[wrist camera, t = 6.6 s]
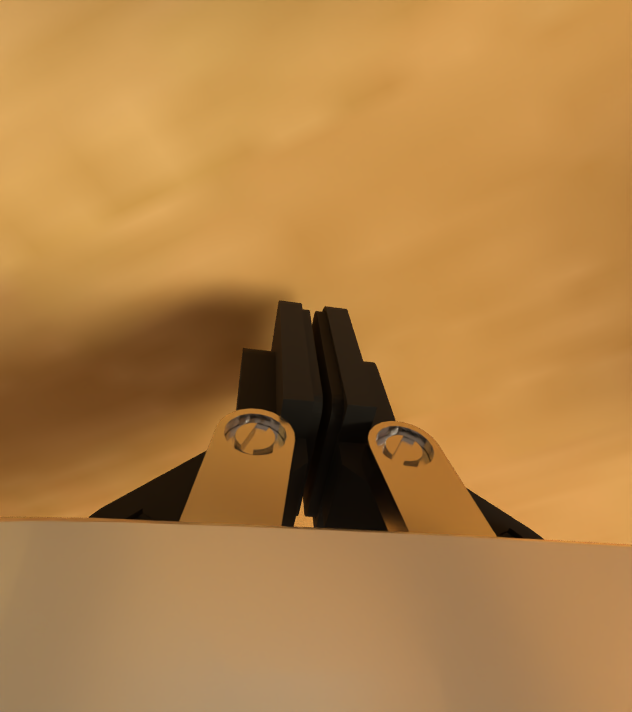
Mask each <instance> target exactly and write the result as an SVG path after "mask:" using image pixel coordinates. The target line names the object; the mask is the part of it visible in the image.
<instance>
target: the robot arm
mask: <svg viewBox="0 0 632 712" xmlns="http://www.w3.org/2000/svg"><path fill="white" fill-rule="evenodd" d="M302 498H303V503H304V514H305V516H308V517H313V524H314V528H311V527H294V522H295V518H296V516H298V514H299V511H300V506H301V502H302ZM0 712H632V545H628V544H609V543H592V542H575V541H558V540H544V539H543V538H542V537H540V536H539V535H538V534H536V533H535V532H534V531H532V530H531V529H529V528H528V527H526V526H525V525H523V524H522V523H520V522H518V521H517V520H515V519H514V518H512V517H511V516H509V515H508V514H506V513H504V512H503V511H501V510H500V509H498V508H497V507H495V506H494V505H492V504H490V503H489V502H487V501H486V500H484V499H483V498H481V497H480V496H478V495H476V494H475V493H473V492H472V491H470V490H469V489H467V488H466V487H465V486H464V484H463V482H462V481H461V479H460V478H459V476H458V475H457V473H456V471H455V470H454V468H453V467H452V465H451V464H450V462H449V460H448V459H447V457H446V456H445V454H444V452H443V451H442V449H441V448H440V446H439V445H438V443H437V442H436V441H435V440H434V439H433V437H432V436H430V435H429V434H428V433H426V432H425V431H424V430H422V429H420V428H418V427H416V426H414V425H411V424H408V423H404V422H398V421H395V418H394V415H393V412H392V409H391V406H390V403H389V400H388V398H387V395H386V392H385V389H384V386H383V383H382V380H381V377H380V375H379V372H378V369H377V366H376V364H375V363H373V362H364V361H363V359H362V356H361V353H360V350H359V346H358V343H357V340H356V337H355V333H354V330H353V327H352V324H351V320H350V317H349V314H348V311H347V309H342V308H334V307H326V306H325V307H324V309H323V311H322V312H319V311H316V312H315V314H314V318H313V323H311V317H310V311H309V310H303V309H302V304H301V303H294V302H286V301H279V303H278V309H277V315H276V322H275V329H274V336H273V342H272V349H271V351H263V350H254V349H245V348H243V353H242V362H241V371H240V379H239V389H238V398H237V407H236V411H234V412H232V413H229V414H228V415H226V416H225V417H223V418H222V419H221V420H220V422H219V423H218V425H217V426H216V429H215V431H214V434H213V436H212V439H211V441H210V444H209V446H208V449H207V451H205V452H203V453H201V454H199V455H198V456H196V457H194V458H192V459H190V460H188V461H187V462H185V463H183V464H181V465H179V466H177V467H176V468H174V469H172V470H170V471H168V472H167V473H165V474H163V475H161V476H159V477H157V478H156V479H154V480H152V481H150V482H148V483H146V484H145V485H143V486H141V487H139V488H137V489H135V490H134V491H132V492H130V493H128V494H126V495H124V496H123V497H121V498H119V499H117V500H115V501H113V502H112V503H110V504H108V505H106V506H104V507H102V508H101V509H99V510H98V511H97V512H95V513H94V514H92V515H91V516H90V517H89V518H62V517H0Z"/></svg>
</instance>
